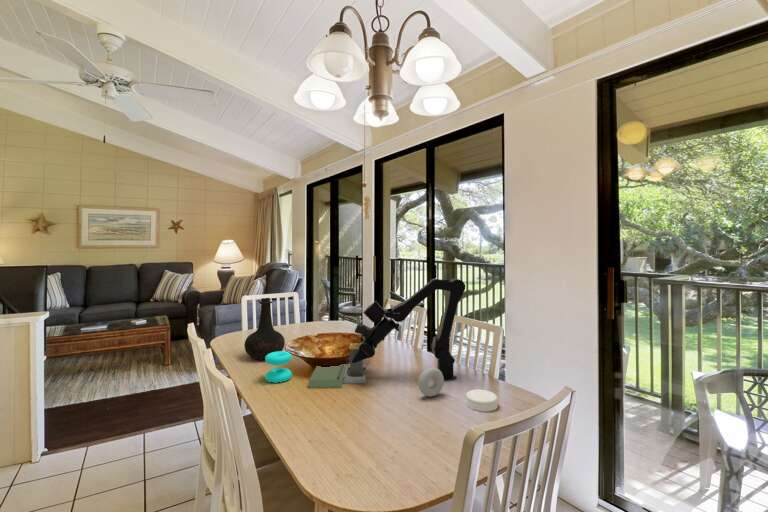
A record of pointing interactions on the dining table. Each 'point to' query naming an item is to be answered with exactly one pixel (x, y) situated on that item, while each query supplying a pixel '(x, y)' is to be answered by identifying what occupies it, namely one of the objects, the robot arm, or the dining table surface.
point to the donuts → (278, 373)
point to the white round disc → (481, 400)
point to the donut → (425, 379)
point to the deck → (334, 377)
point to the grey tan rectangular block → (357, 367)
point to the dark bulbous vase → (264, 335)
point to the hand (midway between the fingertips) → (353, 358)
